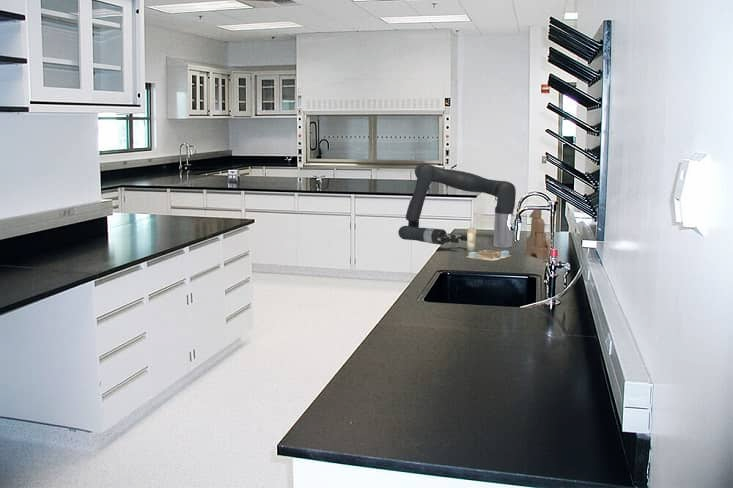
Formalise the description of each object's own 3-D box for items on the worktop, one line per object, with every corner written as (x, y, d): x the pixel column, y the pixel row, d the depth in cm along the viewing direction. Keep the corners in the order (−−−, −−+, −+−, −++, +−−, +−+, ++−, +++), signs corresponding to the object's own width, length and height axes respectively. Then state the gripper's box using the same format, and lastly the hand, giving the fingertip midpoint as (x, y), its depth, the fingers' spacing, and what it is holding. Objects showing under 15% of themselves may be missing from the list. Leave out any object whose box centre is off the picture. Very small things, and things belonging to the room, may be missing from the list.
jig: (485, 254, 339) (485, 247, 338) (511, 258, 330) (512, 250, 330) (465, 259, 325) (465, 251, 325) (492, 263, 317) (492, 255, 316)
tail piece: (473, 256, 328) (473, 251, 327) (477, 256, 326) (478, 252, 326) (468, 257, 325) (468, 252, 324) (473, 257, 323) (473, 253, 323)
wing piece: (504, 254, 332) (504, 250, 332) (509, 255, 330) (509, 251, 330) (497, 256, 327) (498, 252, 327) (502, 257, 326) (502, 252, 326)
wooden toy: (554, 261, 323) (557, 207, 319) (541, 262, 321) (545, 207, 317) (535, 255, 337) (538, 203, 333) (523, 256, 335) (525, 203, 331)
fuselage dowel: (469, 254, 339) (470, 227, 337) (476, 255, 336) (477, 228, 334) (464, 255, 336) (465, 228, 334) (472, 256, 333) (473, 229, 331)
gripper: (426, 230, 342) (455, 233, 332) (443, 227, 353) (471, 230, 343) (426, 245, 343) (454, 249, 333) (443, 242, 354) (470, 245, 344)
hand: (463, 239), depth 338 cm, fingers open, 8 cm apart
